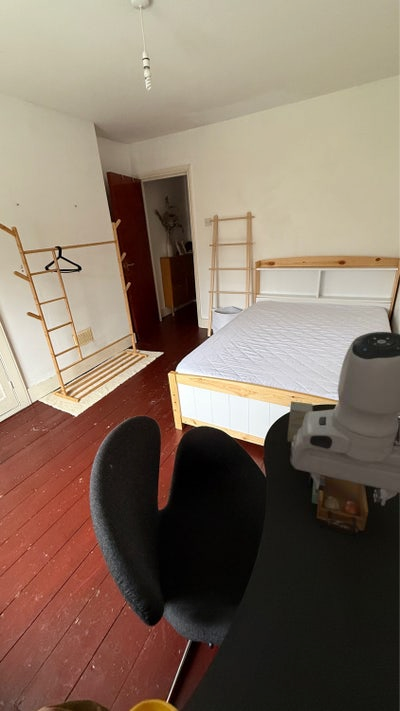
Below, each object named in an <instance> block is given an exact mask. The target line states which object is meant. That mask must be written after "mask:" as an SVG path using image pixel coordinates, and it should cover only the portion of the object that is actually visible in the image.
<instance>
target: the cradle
mask: <svg viewBox="0 0 400 711" xmlns="http://www.w3.org/2000/svg"><path fill="white" fill-rule="evenodd" d="M307 480H308V481H307V487H308V488H311V481H312V477H311V473H310V472H308V479H307ZM366 489H367V485H365V490H366ZM319 528H320V529H324V530H328V531H331V532H334V533H339V534H342V535H346V536H350V537H352V536H353V533H351V532H348V531H344V530H340V529H337V528H333V527H329V526H328V525H327V524H326V520H322V519H319Z"/></svg>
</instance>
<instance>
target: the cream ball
mask: <svg viewBox="0 0 400 711" xmlns="http://www.w3.org/2000/svg"><path fill="white" fill-rule="evenodd" d="M322 505H323V507H324V508H328V509H332V510H336V511H338V509H339V503H338V501H337V500H336V499H335V498H334V497H331V496H327V497H325V498H324V499H323V503H322Z"/></svg>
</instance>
